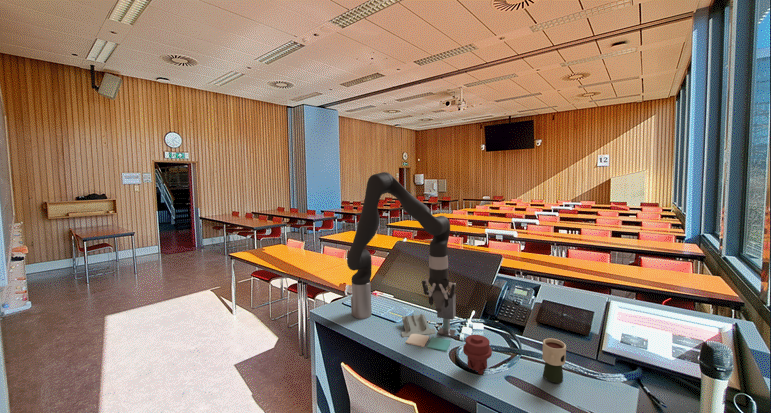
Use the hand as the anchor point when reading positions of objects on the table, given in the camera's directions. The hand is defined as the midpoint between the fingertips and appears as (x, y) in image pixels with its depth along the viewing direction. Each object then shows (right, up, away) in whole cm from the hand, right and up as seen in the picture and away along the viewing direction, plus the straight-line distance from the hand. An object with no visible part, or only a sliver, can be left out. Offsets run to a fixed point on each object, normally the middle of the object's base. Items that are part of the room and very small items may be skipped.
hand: (438, 305), depth 138 cm
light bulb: (0, -3, 0) cm, 3 cm away
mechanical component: (+12, -19, -14) cm, 27 cm away
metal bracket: (-8, -16, +16) cm, 24 cm away
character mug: (+36, -19, -21) cm, 46 cm away
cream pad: (-8, -17, +6) cm, 19 cm away
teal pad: (+1, -17, +2) cm, 17 cm away
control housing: (+5, -15, +11) cm, 20 cm away
